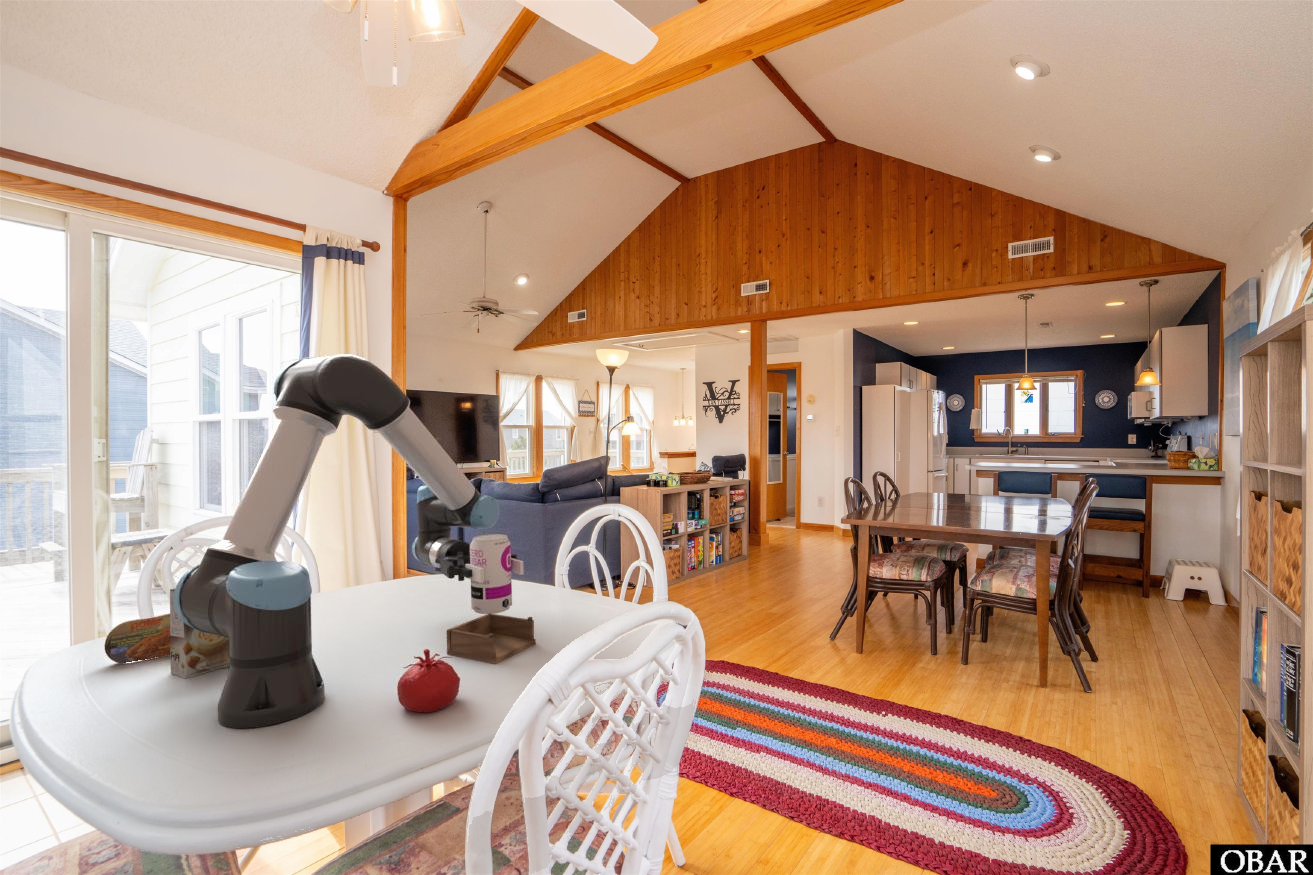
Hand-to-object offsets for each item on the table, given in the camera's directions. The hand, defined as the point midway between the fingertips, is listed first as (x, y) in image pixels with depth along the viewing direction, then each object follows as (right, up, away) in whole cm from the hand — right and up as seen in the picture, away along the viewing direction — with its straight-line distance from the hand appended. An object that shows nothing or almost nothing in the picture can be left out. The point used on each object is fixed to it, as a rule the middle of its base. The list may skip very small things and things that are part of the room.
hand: (502, 571), depth 128 cm
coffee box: (-57, -18, -5) cm, 60 cm away
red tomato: (-6, -17, -23) cm, 29 cm away
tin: (-72, -18, +2) cm, 75 cm away
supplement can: (-3, -9, +4) cm, 10 cm away
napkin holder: (-3, -17, +4) cm, 17 cm away
